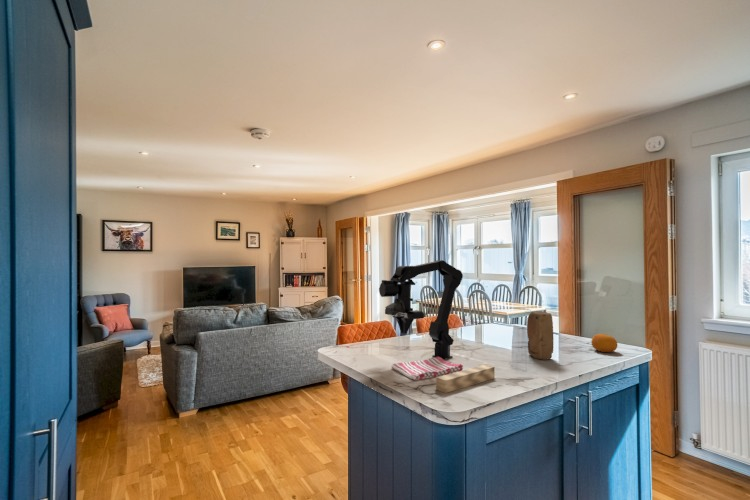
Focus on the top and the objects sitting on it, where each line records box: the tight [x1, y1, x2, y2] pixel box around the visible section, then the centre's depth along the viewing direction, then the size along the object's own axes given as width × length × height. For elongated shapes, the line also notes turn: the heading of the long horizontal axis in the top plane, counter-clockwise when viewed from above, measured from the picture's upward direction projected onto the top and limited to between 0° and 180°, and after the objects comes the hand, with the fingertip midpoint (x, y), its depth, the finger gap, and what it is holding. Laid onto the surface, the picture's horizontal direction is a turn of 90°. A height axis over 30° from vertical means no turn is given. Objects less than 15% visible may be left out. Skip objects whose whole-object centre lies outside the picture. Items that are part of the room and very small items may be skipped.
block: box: [526, 310, 554, 361], centre depth 166 cm, size 11×8×20 cm
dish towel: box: [391, 357, 464, 381], centre depth 146 cm, size 17×23×4 cm
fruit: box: [591, 333, 618, 353], centre depth 177 cm, size 10×10×8 cm
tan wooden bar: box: [435, 364, 496, 394], centre depth 130 cm, size 26×4×4 cm, turn 127°
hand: (403, 333), depth 157 cm, fingers closed
